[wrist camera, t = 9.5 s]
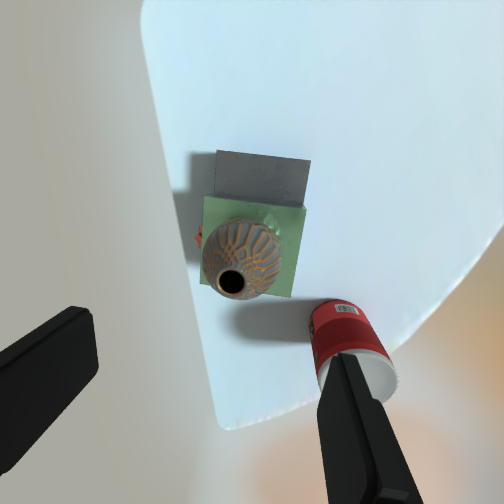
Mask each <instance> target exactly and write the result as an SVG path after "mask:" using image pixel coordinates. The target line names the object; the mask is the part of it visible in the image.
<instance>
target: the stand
mask: <svg viewBox="0 0 504 504" xmlns="http://www.w3.org/2000/svg"><path fill="white" fill-rule="evenodd" d="M310 163H311V161H310V160H301V159H292V158H283V157H275V156H266V155H257V154H248V153H240V152H231V151H222V150H217V155H216V172H215V189H214V193H212V194H209V195H206V196H204V200H203V222H202V225H201V226H200V227H199V234H198V235H197V236H196V237H194V238H195V239H196V240H197V241H198V243H199V248H201V266H200V284H204V285H210V284H209V283H208V281H207V280H206V278H205V275H204V272H203V268H202V252H203V248H204V245H205V242H206V240H207V238H208V237H209V235H210V234H211V233H212V232H213V230H214V229H215V228H217V227H218V226H219V225H221V224H222V223H224V222H226V221H228V220H230V219H233V218H239V217H247V218H253V219H256V220H259V221H261V222H263V223H264V224H266V225H267V226H268V227H269V228H270V229H271V230H272V231H273V232H274V233H275V235H276V236H277V238H278V240H279V243H280V246H281V250H282V265H281V269H280V272H279V275H278V277H277V279H276V280H275V282H274V283H273V284H272V286H271V287H270V288H269V289H268V290H267V291H265V292H264V293H263V294H269V295H275V296H282V297H288V298H290V297H291V292H292V286H293V281H294V276H295V270H296V265H297V259H298V254H299V248H300V243H301V237H302V232H303V227H304V221H305V216H306V208H305V206H304V205H303V202H304V197H305V191H306V185H307V180H308V174H309V169H310Z"/></svg>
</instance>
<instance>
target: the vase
mask: <svg viewBox="0 0 504 504" xmlns="http://www.w3.org/2000/svg"><path fill="white" fill-rule="evenodd" d="M281 265H282V250H281V246H280V243H279V240H278V238H277V236H276V235H275V233H274V232H273V231H272V230H271V229H270V228H269V227H268V226H267V225H266V224H264V223H263V222H261V221H259V220H256V219H253V218H247V217H239V218H233V219H230V220H228V221H226V222H224V223H222V224H221V225H219V226H218V227H217V228H215V229H214V230H213V232H212V233H211V234H210V235H209V237H208V238H207V240H206V242H205V245H204V248H203V252H202V268H203V272H204V275H205V278H206V280H207V281H208V283H209V284H210V286H211V287H212V288H213V289H214V290H215V291H217V292H218V293H219V294H221V295H223V296H225V297H227V298H230V299H234V300H247V299H252V298H255V297H257V296H259V295H261V294H263V293H264V292H265V291H267V290H268V289H269V288H270V287H271V286H272V284H273V283H274V282H275V280H276V279H277V277H278V275H279V272H280V269H281Z"/></svg>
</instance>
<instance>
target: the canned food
mask: <svg viewBox="0 0 504 504" xmlns="http://www.w3.org/2000/svg"><path fill="white" fill-rule="evenodd" d="M309 332H310V338H311V344H312V351H313V357H314V363H315V369H316V375H317V380H318V385H319V387H320V391H321V393H322V390H323V387H324V383H325V380H326V376H327V373H328V369H329V366H330V362H331V358H332V356H333V355H334V356H337V354H338V353H339V352H342V353H347V354H353V355H356V357H357V359H358V361H359V364H360V366H361V369H362V372H363V374H364V377H365V379H366V382H367V384H368V387H369V390H370V392H371V395H372V397H373V399H378V400H379V401H380V402H381V404H383V403H385V402H386V401H388V400H389V399H390V398H391V397H392V396H393V395H394V393H395V392H396V390H397V387H398V382H399V381H398V375H397V372H396V370H395V367H394V365H393V363H392V361H391V360H390V358H389V356H388V354H387V352H386V351H385V349H384V347H383V345H382V344H381V342H380V340H379V338H378V337H377V335H376V333H375V332H374V330H373V328H372V326H371V325H370V323H369V321H368V319H367V318H366V316H365V314H364V313H363V311H362V310H361V309H360V308H358V307H357V306H356V305H354V304H352V303H350V302H347V301H343V300H332V301H328V302H325V303H323V304H321V305H320V306H318V307H317V308H316V309H315V310H314V311H313V313H312V315H311V317H310V321H309Z"/></svg>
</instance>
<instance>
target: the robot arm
mask: <svg viewBox="0 0 504 504" xmlns="http://www.w3.org/2000/svg"><path fill="white" fill-rule="evenodd" d="M98 368H99V364H98V357H97V348H96V340H95V332H94V324H93V316H92V314H91V313H90V311H89V310H88V309H87V308H82V307H76V306H70V307H68V308H66V309H65V310H64V311H62V312H60V313H59V314H57V315H56V316H54V317H53V318H51V319H50V320H48V321H47V322H45V323H44V324H42V325H41V326H39V327H37V328H36V329H34V330H33V331H31V332H30V333H28V334H27V335H25V336H24V337H22V338H21V339H19V340H18V341H16V342H15V343H13V344H12V345H10V346H9V347H7V348H6V349H4V350H3V351H1V352H0V476H1V475H2V474H3V473H6V472H8V471H9V470H10V469H11V468H12V467H14V465H15V464H16V463H17V462H18V461H19V460H20V459H21V458H22V457H23V455H24V454H25V453H26V452H27V451H28V450H29V449H30V448H31V447H32V445H33V444H34V443H35V442H36V441H37V440H38V439H39V438H40V436H41V435H42V434H43V433H44V432H45V431H46V430H47V429H48V427H49V426H50V425H51V424H52V423H53V422H54V421H55V420H56V419H57V417H58V416H59V415H60V414H61V413H62V412H63V411H64V409H66V407H67V406H68V405H69V404H70V403H71V402H72V401H73V400H74V399H75V397H76V396H77V395H78V394H79V393H80V392H81V391H82V390H83V388H84V387H85V386H86V385H87V384H88V383H89V382H90V380H92V378H93V377H94V376H95V375H96V373H97V371H98ZM317 422H318V429H319V436H320V443H321V451H322V458H323V466H324V473H325V480H326V487H327V495H328V502H329V504H423V501H422V498H421V496H420V494H419V491H418V489H417V486H416V484H415V482H414V479H413V477H412V474H411V472H410V470H409V467H408V465H407V463H406V460H405V458H404V455H403V453H402V451H401V448H400V446H399V444H398V441H397V439H396V437H395V434H394V431H393V429H392V427H391V424H390V422H389V419H388V417H387V415H386V412H385V410H384V408H383V406H382V404H381V402H380V401H379V400H378V399H373V397H372V395H371V392H370V390H369V387H368V384H367V382H366V379H365V377H364V374H363V372H362V369H361V366H360V364H359V361H358V359H357V357H356V355H353V354H347V353H342V352H339V353H338V354H337V356H334V355H333V356H332V358H331V362H330V366H329V369H328V373H327V376H326V380H325V383H324V387H323V390H322V394H321V397H320V401H319V404H318V408H317Z"/></svg>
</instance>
